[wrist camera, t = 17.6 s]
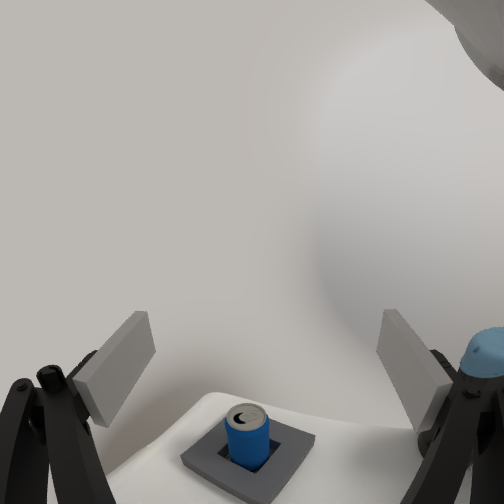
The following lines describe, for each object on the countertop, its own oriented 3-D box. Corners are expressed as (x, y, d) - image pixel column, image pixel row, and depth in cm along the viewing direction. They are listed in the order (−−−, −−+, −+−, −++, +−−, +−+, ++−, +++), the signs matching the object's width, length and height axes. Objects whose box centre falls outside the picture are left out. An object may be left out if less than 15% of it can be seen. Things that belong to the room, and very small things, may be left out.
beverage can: (227, 448, 40) (220, 404, 37) (263, 441, 42) (262, 397, 39) (235, 475, 34) (227, 436, 31) (273, 468, 36) (275, 426, 33)
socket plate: (313, 444, 40) (315, 435, 39) (264, 510, 27) (264, 504, 26) (239, 414, 49) (238, 405, 48) (183, 464, 36) (180, 455, 35)
